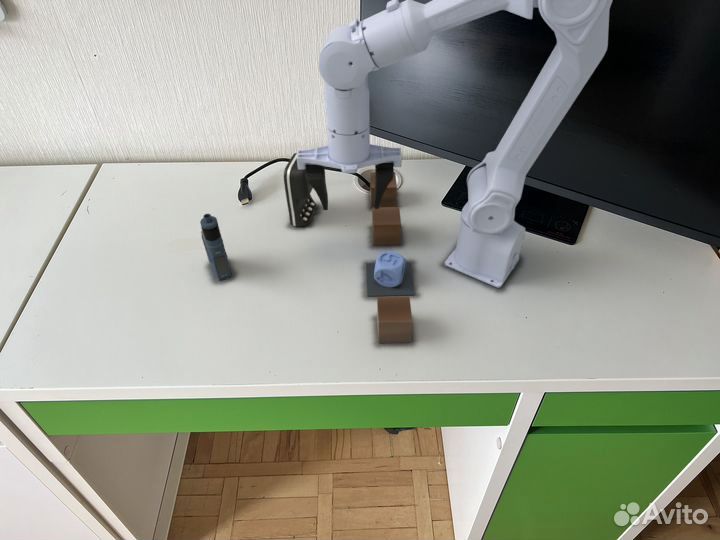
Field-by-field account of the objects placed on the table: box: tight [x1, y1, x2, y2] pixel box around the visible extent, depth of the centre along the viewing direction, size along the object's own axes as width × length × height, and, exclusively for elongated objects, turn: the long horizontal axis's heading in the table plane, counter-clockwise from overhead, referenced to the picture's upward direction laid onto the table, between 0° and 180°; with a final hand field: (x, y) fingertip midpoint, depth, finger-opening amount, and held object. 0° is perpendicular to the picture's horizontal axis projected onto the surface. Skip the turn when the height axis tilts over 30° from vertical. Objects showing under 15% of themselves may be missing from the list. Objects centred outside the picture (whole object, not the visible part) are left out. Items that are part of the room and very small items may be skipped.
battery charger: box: [283, 152, 317, 227], centre depth 89 cm, size 7×4×11 cm, turn 166°
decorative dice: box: [374, 250, 406, 287], centre depth 81 cm, size 4×4×4 cm
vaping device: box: [199, 213, 233, 281], centre depth 80 cm, size 3×5×12 cm, turn 28°
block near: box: [376, 296, 413, 344], centre depth 73 cm, size 4×4×4 cm
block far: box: [369, 171, 398, 209], centre depth 95 cm, size 4×4×4 cm
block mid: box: [371, 206, 402, 247], centre depth 88 cm, size 4×4×4 cm
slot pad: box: [365, 261, 415, 298], centre depth 82 cm, size 7×7×1 cm
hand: (351, 205), depth 80 cm, fingers open, 7 cm apart
